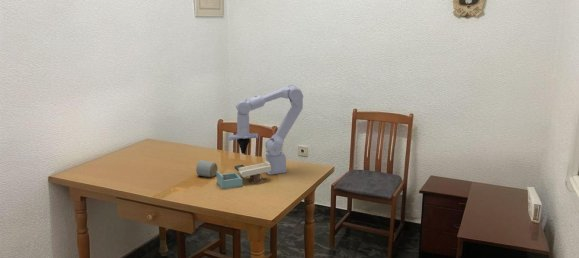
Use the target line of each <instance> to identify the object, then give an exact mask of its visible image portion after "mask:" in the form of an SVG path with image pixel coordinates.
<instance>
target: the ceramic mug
mask: <svg viewBox="0 0 579 258" xmlns="http://www.w3.org/2000/svg"><path fill="white" fill-rule="evenodd" d="M195 169H196V170H195V171H196V175H197V176H201V177H206V178H207V177H208V178H214V177H215V176H217V173H216V171H218V164H217V163H216V162H213V161H208V160H204V159H200V160H199V161H198V162H197V165H196V168H195Z"/></svg>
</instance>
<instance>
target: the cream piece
mask: <svg viewBox="0 0 579 258" xmlns="http://www.w3.org/2000/svg"><path fill="white" fill-rule="evenodd" d="M234 169H235V170H236V172H238V175H239V176H240V177H241V178H247V177H250V175H255V174H260V175H261V174H263V173H266V172H269V171H271V166H270V163H269V162H268V161H266V160H264V162H262V163H256V164H251V165H246V166H245V165H244V164H239V165H235V166H234Z"/></svg>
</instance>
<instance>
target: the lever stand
mask: <svg viewBox="0 0 579 258" xmlns="http://www.w3.org/2000/svg"><path fill="white" fill-rule="evenodd" d="M245 180H246V181H247V182H248V183H249V184H250V185H259V184H265V180H263V179H262V178H261V173H260V174H255V175H250V176H247V177H245Z"/></svg>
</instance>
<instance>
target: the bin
mask: <svg viewBox="0 0 579 258" xmlns="http://www.w3.org/2000/svg"><path fill="white" fill-rule="evenodd" d="M225 176H230V177H231V179H229V180H224V177H225ZM216 184H217V186H218V187H219V188H221V190H229V189H234V188H235V189H236V188H242V187H243V184H244V183H243V177H242V176H241V175H240V174H239V173H236V172H231V173H223V174H222V173H221V172H220V171H219V170H217V171H216Z"/></svg>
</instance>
